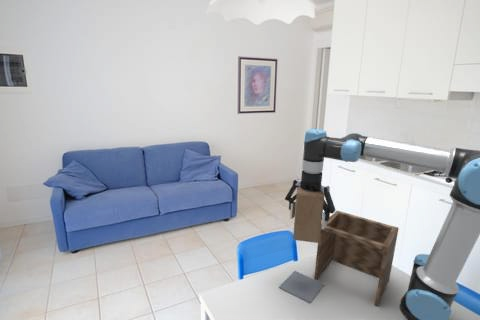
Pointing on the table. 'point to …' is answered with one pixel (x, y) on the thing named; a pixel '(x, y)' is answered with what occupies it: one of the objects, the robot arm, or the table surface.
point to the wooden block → (308, 215)
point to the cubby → (358, 247)
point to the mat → (302, 286)
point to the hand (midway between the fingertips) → (307, 222)
